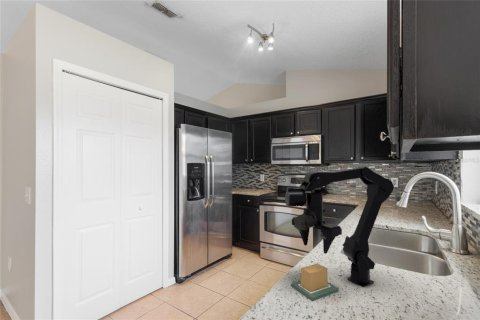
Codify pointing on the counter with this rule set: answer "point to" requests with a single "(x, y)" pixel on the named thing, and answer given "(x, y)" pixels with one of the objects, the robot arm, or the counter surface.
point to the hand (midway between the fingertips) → (315, 249)
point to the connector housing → (314, 277)
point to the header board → (316, 293)
